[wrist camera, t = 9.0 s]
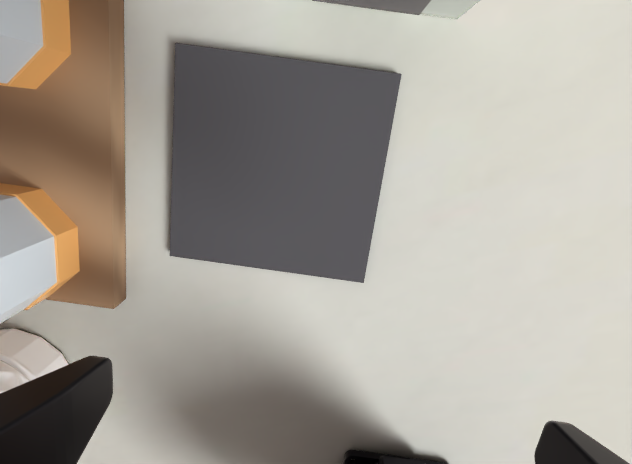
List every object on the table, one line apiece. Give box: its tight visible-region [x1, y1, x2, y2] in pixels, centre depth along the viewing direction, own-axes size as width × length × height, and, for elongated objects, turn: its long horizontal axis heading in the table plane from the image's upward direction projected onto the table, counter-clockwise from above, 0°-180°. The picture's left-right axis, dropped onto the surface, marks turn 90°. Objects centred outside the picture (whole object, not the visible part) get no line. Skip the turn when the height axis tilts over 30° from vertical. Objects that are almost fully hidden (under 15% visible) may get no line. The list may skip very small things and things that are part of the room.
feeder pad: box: [170, 43, 401, 283], centre depth 18 cm, size 10×10×1 cm
